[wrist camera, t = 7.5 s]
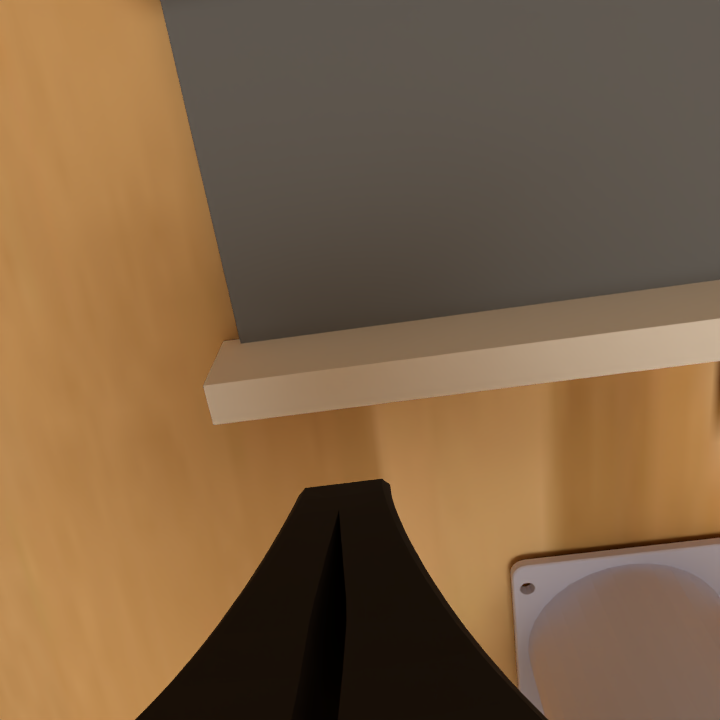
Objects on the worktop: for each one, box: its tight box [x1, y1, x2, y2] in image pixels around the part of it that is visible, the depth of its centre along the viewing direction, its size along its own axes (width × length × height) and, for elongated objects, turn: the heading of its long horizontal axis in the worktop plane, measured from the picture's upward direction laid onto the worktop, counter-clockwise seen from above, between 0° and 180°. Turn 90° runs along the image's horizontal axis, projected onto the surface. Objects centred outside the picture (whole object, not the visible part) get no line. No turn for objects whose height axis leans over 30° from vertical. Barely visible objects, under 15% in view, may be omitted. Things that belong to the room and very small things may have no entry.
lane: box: [160, 0, 720, 425], centre depth 17 cm, size 12×26×3 cm, turn 98°
